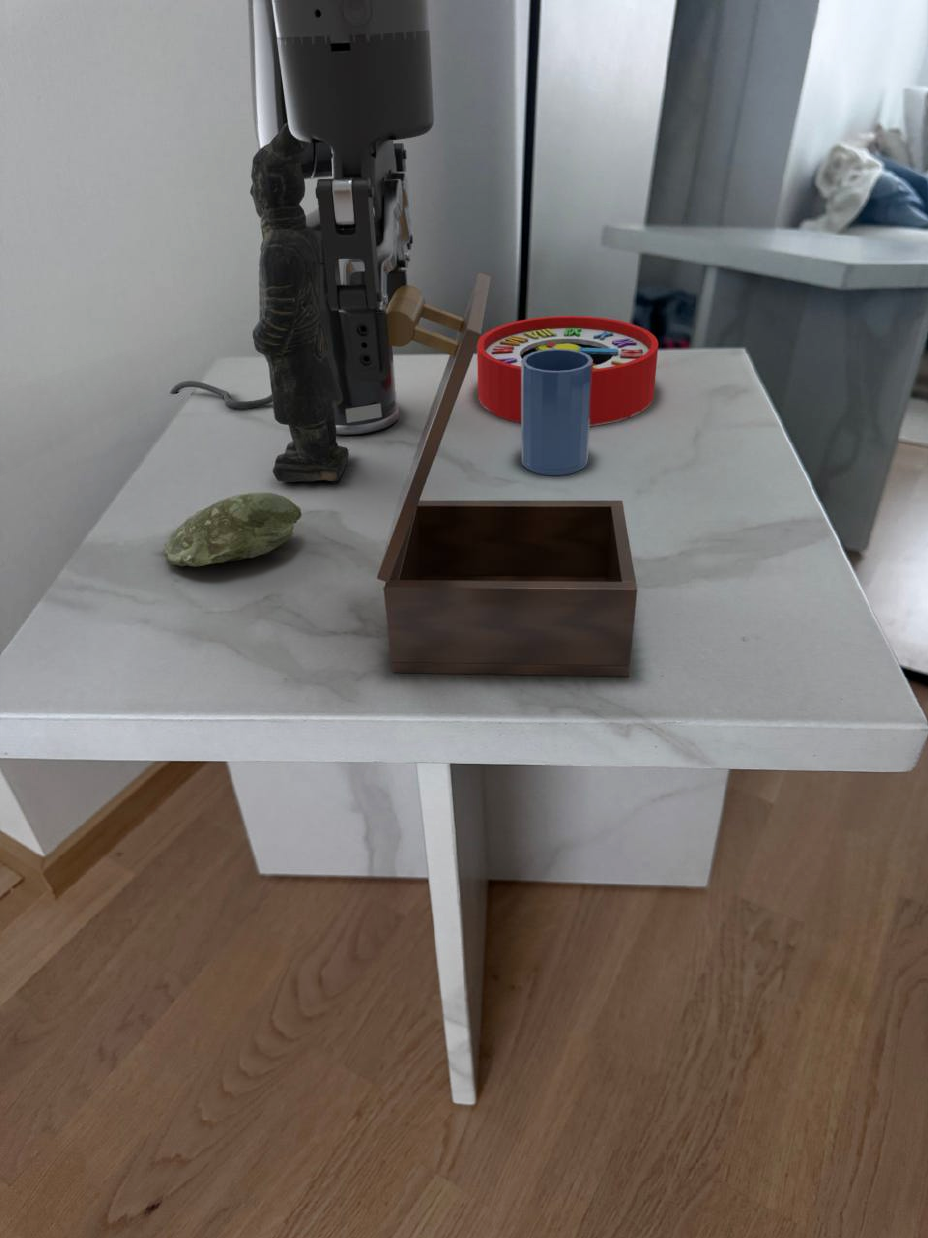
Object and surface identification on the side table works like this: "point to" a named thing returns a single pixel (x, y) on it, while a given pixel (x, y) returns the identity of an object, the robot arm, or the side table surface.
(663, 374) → the side table surface
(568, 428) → the cup
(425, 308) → the dish box lid
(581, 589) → the box
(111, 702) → the side table surface
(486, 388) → the toy clock
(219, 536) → the green rounded rock
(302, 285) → the statue
